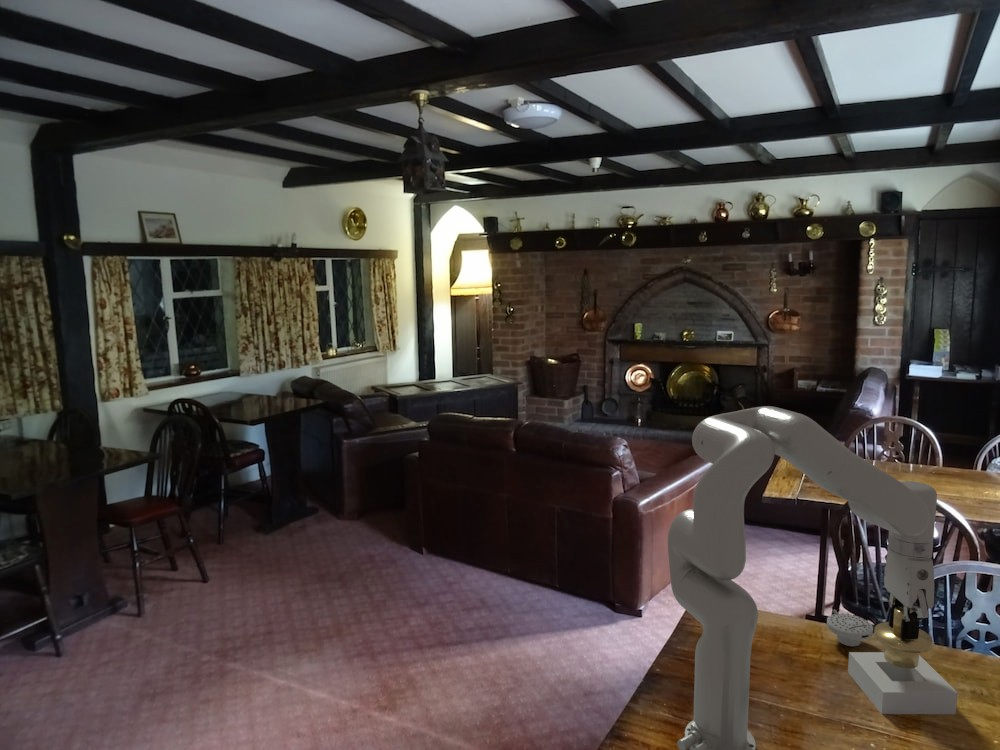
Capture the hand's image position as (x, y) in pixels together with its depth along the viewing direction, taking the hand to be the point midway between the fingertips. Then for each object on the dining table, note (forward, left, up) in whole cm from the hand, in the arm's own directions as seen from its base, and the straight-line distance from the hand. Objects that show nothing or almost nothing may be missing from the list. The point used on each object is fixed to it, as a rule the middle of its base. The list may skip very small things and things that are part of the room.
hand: (903, 631), depth 138 cm
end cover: (0, 0, -6) cm, 6 cm away
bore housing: (0, 0, -15) cm, 15 cm away
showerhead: (+10, +16, -15) cm, 24 cm away
